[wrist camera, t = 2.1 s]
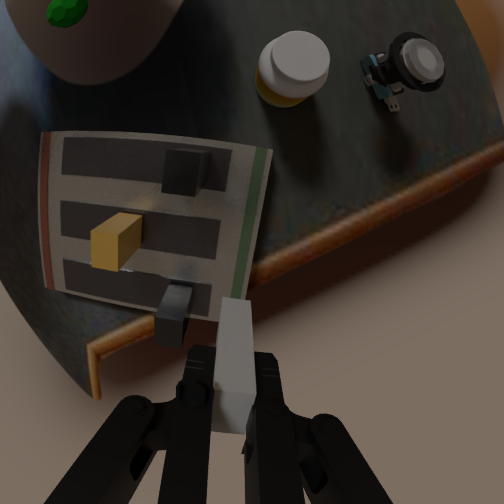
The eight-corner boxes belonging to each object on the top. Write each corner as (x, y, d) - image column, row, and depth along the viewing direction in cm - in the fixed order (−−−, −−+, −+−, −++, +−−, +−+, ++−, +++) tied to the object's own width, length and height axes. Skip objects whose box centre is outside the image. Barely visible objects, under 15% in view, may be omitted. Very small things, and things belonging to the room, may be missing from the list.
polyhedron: (98, 15, 20) (80, 1, 16) (64, 39, 21) (42, 30, 16) (89, -9, 18) (72, -23, 14) (57, 15, 19) (36, 4, 15)
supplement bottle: (300, 115, 26) (329, 102, 17) (247, 98, 25) (251, 76, 16) (315, 69, 24) (348, 39, 15) (263, 52, 24) (274, 12, 14)
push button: (408, 105, 25) (465, 98, 16) (371, 119, 26) (424, 113, 17) (383, 51, 23) (433, 26, 14) (344, 62, 24) (387, 33, 15)
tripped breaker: (118, 242, 26) (91, 266, 21) (119, 212, 25) (90, 230, 20) (140, 245, 26) (117, 271, 21) (142, 215, 25) (117, 235, 20)
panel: (56, 276, 31) (16, 314, 22) (56, 131, 25) (1, 134, 16) (240, 309, 33) (240, 365, 24) (269, 149, 27) (283, 151, 18)
